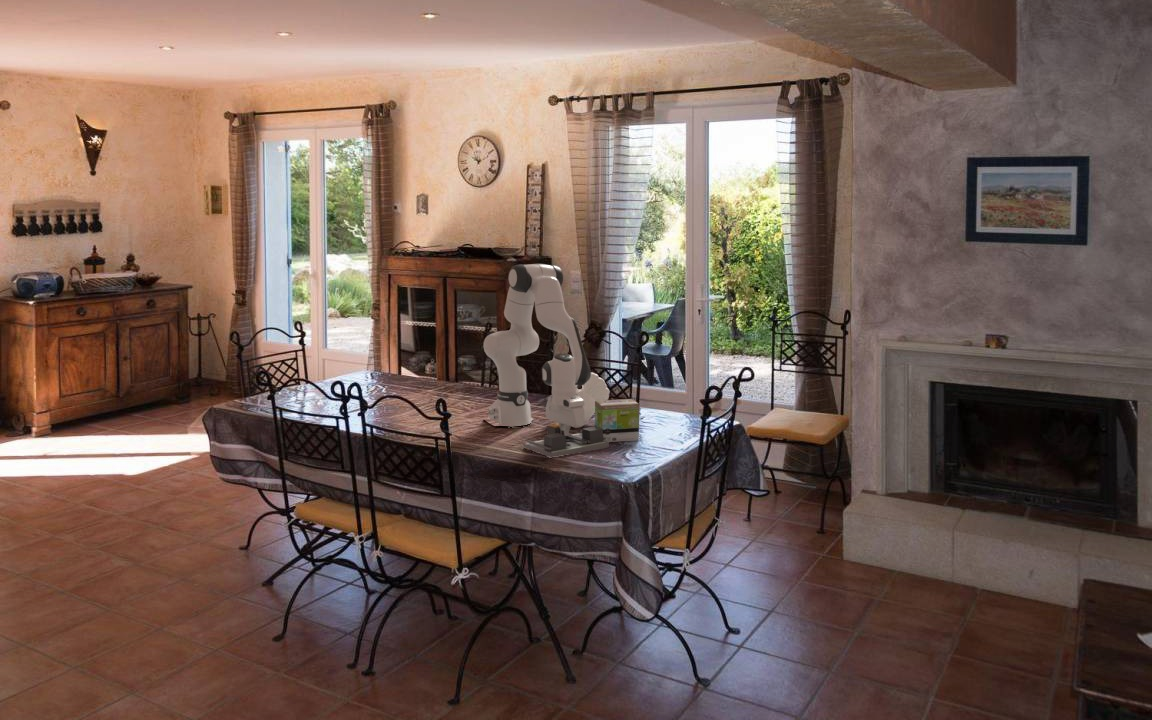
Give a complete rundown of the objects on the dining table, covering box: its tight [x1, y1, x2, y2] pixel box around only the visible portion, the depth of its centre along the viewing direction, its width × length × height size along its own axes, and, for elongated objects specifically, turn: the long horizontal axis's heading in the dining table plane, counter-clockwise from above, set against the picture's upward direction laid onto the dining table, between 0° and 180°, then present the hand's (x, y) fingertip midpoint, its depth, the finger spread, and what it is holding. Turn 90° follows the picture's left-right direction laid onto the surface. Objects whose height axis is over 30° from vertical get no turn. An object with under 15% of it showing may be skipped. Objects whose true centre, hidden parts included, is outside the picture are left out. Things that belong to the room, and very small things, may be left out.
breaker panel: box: [523, 425, 610, 457], centre depth 370 cm, size 18×26×7 cm
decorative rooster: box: [551, 372, 610, 426], centre depth 405 cm, size 25×16×25 cm, turn 95°
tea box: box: [594, 398, 640, 443], centre depth 381 cm, size 15×10×15 cm, turn 105°
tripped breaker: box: [541, 423, 573, 441], centre depth 374 cm, size 9×9×6 cm
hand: (564, 435), depth 370 cm, fingers closed
